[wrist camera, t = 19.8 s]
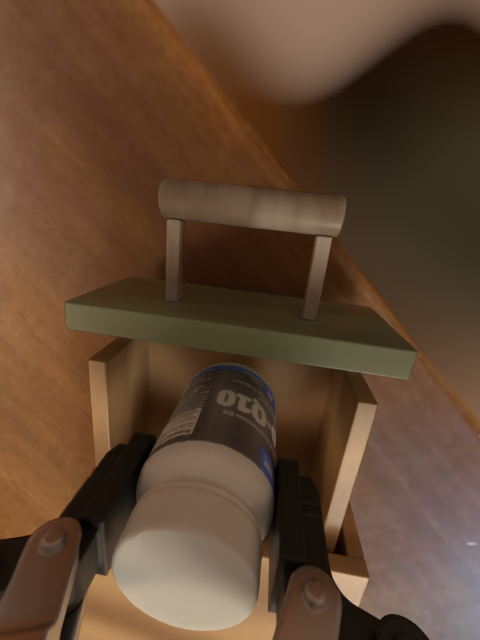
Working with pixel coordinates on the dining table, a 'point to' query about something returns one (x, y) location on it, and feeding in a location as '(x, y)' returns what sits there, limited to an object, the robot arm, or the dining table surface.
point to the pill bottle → (204, 505)
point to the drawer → (244, 341)
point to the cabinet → (248, 636)
